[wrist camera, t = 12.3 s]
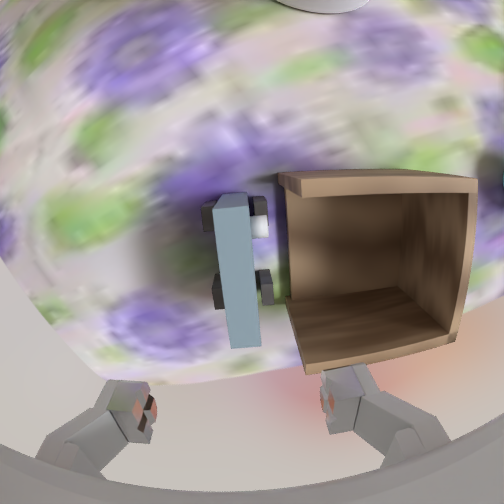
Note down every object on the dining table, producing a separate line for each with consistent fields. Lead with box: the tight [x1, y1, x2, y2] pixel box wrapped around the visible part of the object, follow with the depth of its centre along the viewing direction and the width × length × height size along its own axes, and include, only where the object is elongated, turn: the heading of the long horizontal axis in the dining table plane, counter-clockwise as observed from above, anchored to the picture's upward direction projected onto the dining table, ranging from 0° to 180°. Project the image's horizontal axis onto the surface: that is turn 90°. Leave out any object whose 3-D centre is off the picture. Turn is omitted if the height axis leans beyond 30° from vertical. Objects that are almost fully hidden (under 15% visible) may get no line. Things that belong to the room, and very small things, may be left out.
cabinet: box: [201, 169, 478, 375], centre depth 22 cm, size 13×20×11 cm, turn 95°
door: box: [212, 192, 269, 349], centre depth 23 cm, size 10×3×9 cm, turn 5°
